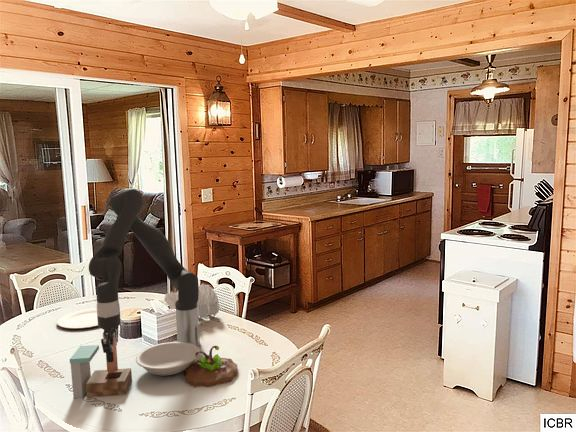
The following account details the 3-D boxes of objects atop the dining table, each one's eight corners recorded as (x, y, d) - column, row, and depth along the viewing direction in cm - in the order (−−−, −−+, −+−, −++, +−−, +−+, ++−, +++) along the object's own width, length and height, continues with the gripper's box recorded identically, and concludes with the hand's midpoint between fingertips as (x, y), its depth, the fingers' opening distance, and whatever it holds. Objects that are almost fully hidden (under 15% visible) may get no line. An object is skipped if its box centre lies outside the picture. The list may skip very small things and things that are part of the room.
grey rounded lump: (219, 323, 242) (178, 335, 224) (200, 302, 252) (159, 312, 234) (229, 295, 235) (187, 305, 217) (209, 274, 245) (168, 282, 227)
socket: (132, 380, 174) (131, 368, 173) (125, 394, 164) (124, 381, 164) (95, 383, 173) (94, 370, 172) (87, 397, 163) (86, 383, 162)
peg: (108, 368, 169) (106, 336, 168) (119, 367, 170) (116, 335, 168) (105, 372, 166) (103, 340, 164) (116, 372, 166) (114, 339, 165)
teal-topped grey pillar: (101, 382, 173) (98, 344, 172) (92, 397, 163) (89, 357, 161) (83, 383, 173) (80, 346, 171) (73, 399, 162) (69, 359, 160)
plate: (98, 307, 260) (98, 304, 259) (131, 317, 243) (130, 314, 242) (45, 324, 236) (45, 320, 236) (77, 336, 219) (77, 332, 219)
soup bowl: (130, 365, 187) (129, 349, 186) (189, 352, 198) (188, 337, 198) (144, 391, 166) (143, 374, 165) (209, 374, 178) (208, 358, 177)
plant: (241, 383, 171) (240, 354, 170) (186, 390, 167) (184, 360, 165) (234, 360, 190) (233, 333, 189) (185, 366, 186) (183, 339, 185)
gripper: (103, 306, 172) (106, 351, 174) (91, 320, 158) (94, 368, 160) (124, 305, 172) (127, 350, 175) (114, 319, 158) (117, 367, 161)
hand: (111, 359), depth 167 cm, fingers closed on peg, 3 cm apart
